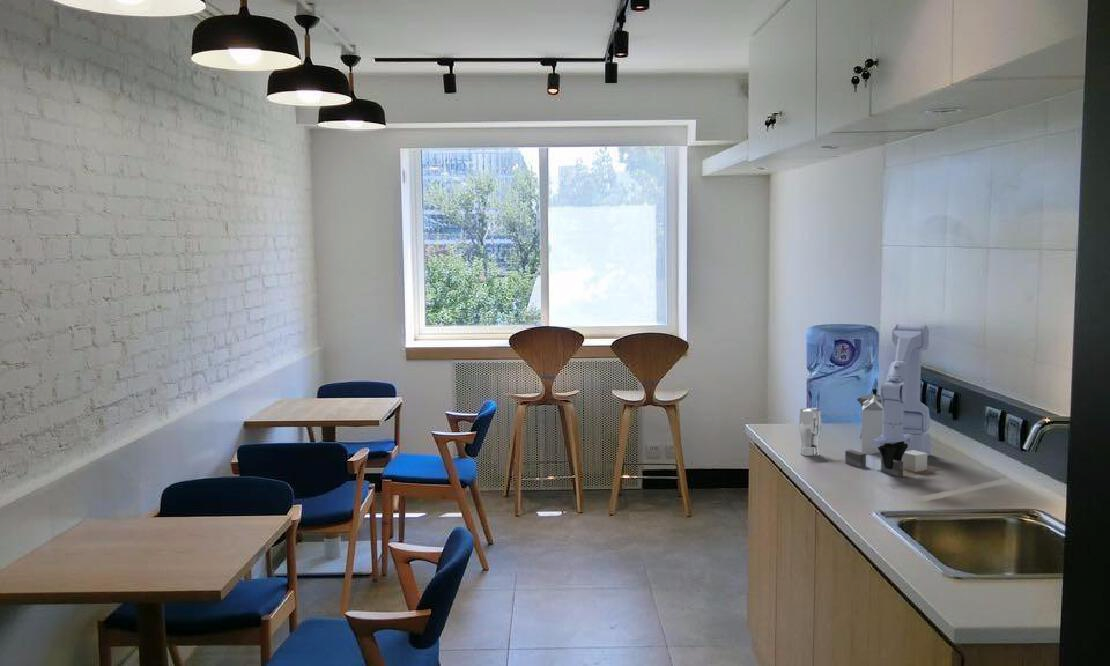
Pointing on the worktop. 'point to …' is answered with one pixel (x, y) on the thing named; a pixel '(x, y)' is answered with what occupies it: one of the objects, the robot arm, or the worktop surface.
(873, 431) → the milk carton
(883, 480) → the worktop surface
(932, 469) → the walnut strip
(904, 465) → the ceramic block
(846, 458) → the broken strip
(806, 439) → the silver drinking tumbler
